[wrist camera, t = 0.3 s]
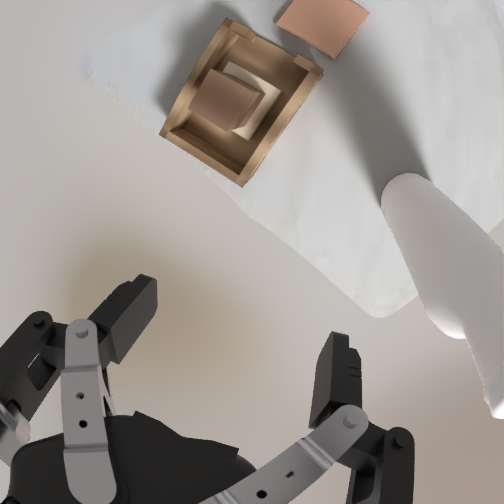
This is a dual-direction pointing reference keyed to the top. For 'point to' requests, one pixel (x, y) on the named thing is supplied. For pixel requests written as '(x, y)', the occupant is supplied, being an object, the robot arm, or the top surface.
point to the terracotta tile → (323, 23)
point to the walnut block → (225, 100)
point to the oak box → (264, 117)
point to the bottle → (452, 273)
